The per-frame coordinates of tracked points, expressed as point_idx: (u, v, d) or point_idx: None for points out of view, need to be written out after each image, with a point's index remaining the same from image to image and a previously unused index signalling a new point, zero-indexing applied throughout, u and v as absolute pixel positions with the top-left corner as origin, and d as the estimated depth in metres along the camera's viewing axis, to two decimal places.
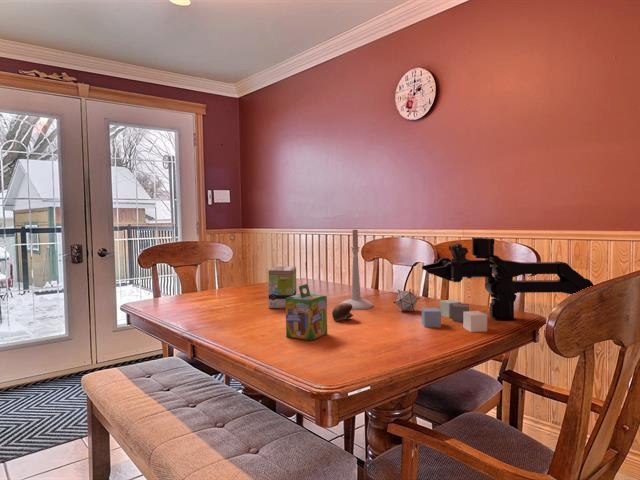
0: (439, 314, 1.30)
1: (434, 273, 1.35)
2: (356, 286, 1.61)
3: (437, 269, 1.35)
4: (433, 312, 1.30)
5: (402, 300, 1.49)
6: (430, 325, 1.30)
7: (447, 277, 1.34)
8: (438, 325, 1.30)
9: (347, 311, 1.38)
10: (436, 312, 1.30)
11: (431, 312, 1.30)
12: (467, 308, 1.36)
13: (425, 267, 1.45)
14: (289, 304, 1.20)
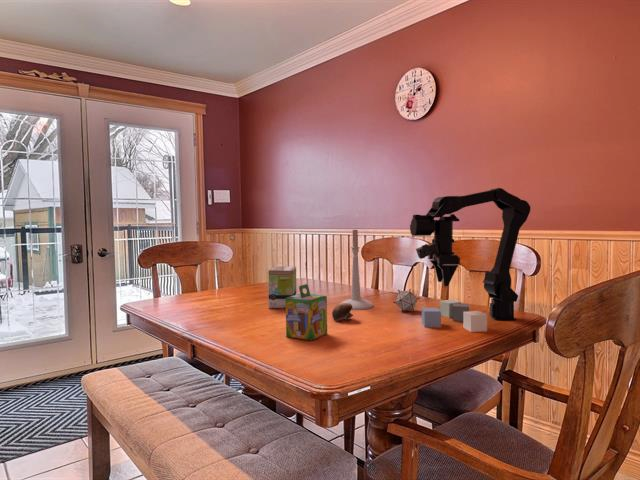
0: (439, 314, 1.30)
1: (449, 279, 1.31)
2: (356, 286, 1.61)
3: (445, 277, 1.31)
4: (433, 312, 1.30)
5: (402, 300, 1.49)
6: (430, 325, 1.30)
7: (454, 267, 1.29)
8: (438, 325, 1.30)
9: (347, 311, 1.38)
10: (436, 312, 1.30)
11: (431, 312, 1.30)
12: (467, 308, 1.36)
13: (439, 278, 1.41)
14: (289, 304, 1.20)
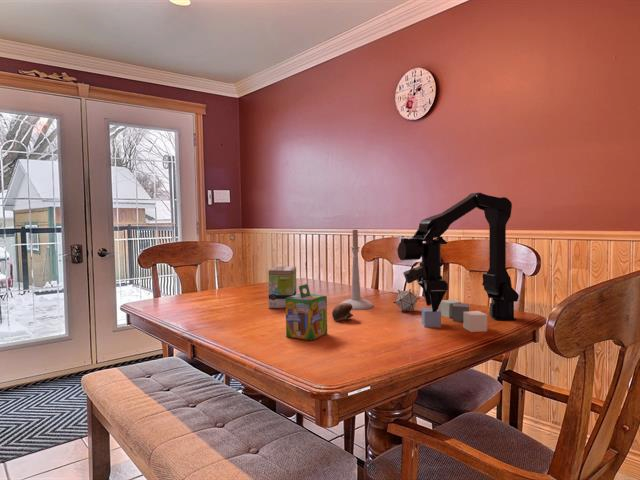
0: (439, 314, 1.30)
1: (437, 305, 1.27)
2: (356, 286, 1.61)
3: (433, 302, 1.27)
4: (433, 312, 1.30)
5: (402, 300, 1.49)
6: (430, 325, 1.30)
7: (442, 293, 1.25)
8: (438, 325, 1.30)
9: (347, 311, 1.38)
10: (436, 312, 1.30)
11: (431, 312, 1.30)
12: (467, 308, 1.36)
13: (428, 302, 1.37)
14: (289, 304, 1.20)
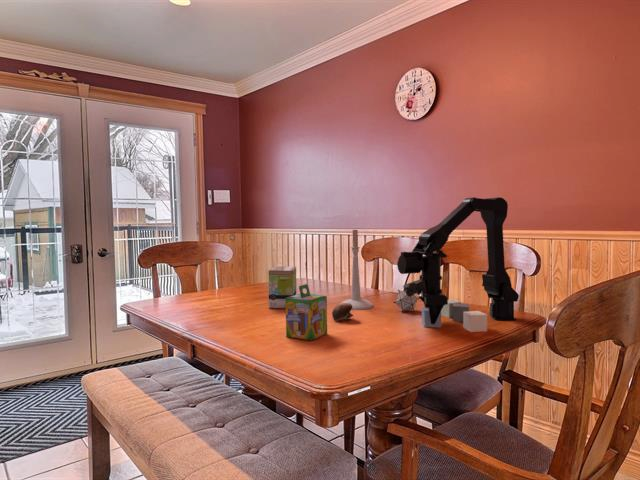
0: (439, 314, 1.30)
1: (435, 317, 1.29)
2: (356, 286, 1.61)
3: (431, 314, 1.29)
4: None
5: (402, 300, 1.49)
6: (430, 325, 1.30)
7: (440, 305, 1.27)
8: (438, 325, 1.30)
9: (347, 311, 1.38)
10: None
11: None
12: (467, 308, 1.36)
13: None
14: (289, 304, 1.20)
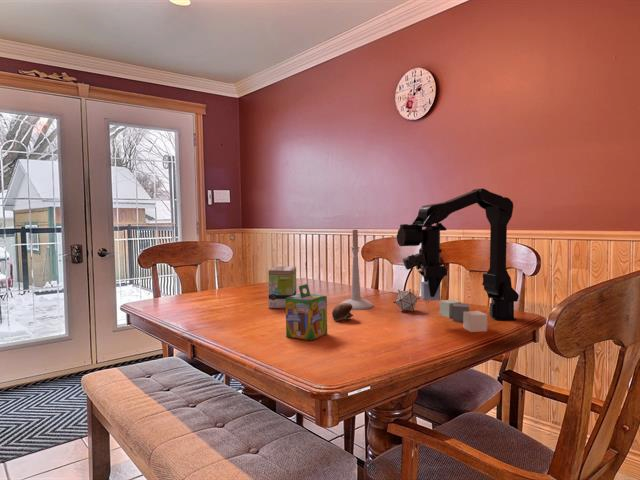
0: (438, 287, 1.29)
1: (435, 290, 1.28)
2: (356, 286, 1.61)
3: (431, 287, 1.28)
4: None
5: (402, 300, 1.49)
6: (429, 298, 1.30)
7: (440, 278, 1.27)
8: (437, 298, 1.29)
9: (347, 311, 1.38)
10: None
11: None
12: (467, 308, 1.36)
13: None
14: (289, 304, 1.20)
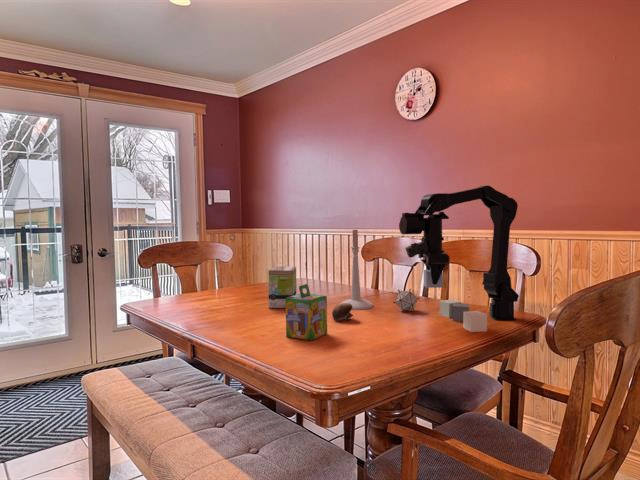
0: (441, 274, 1.31)
1: (437, 277, 1.30)
2: (356, 286, 1.61)
3: (433, 275, 1.30)
4: None
5: (402, 300, 1.49)
6: (432, 285, 1.31)
7: (442, 265, 1.29)
8: (440, 285, 1.31)
9: (347, 311, 1.38)
10: None
11: None
12: (467, 308, 1.36)
13: None
14: (289, 304, 1.20)
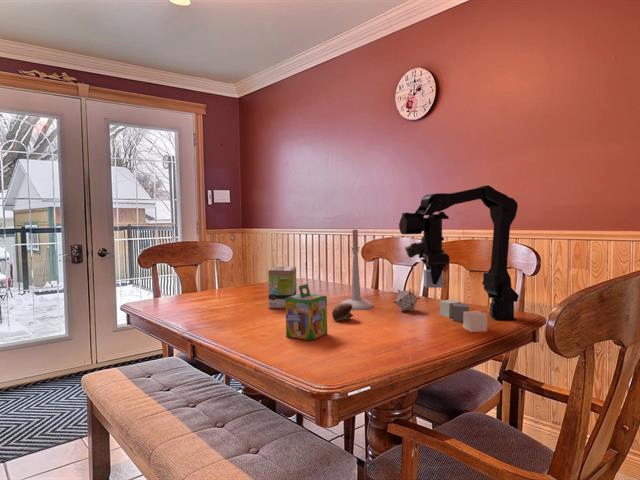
0: (441, 274, 1.31)
1: (437, 277, 1.30)
2: (356, 286, 1.61)
3: (433, 275, 1.30)
4: None
5: (402, 300, 1.49)
6: (432, 285, 1.31)
7: (442, 265, 1.29)
8: (440, 285, 1.31)
9: (347, 311, 1.38)
10: None
11: None
12: (467, 308, 1.36)
13: None
14: (289, 304, 1.20)
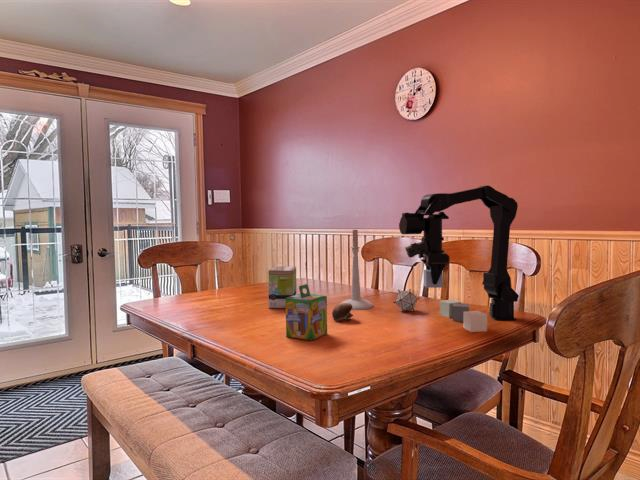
0: (441, 274, 1.31)
1: (437, 277, 1.30)
2: (356, 286, 1.61)
3: (433, 275, 1.30)
4: None
5: (402, 300, 1.49)
6: (432, 285, 1.31)
7: (442, 265, 1.29)
8: (440, 285, 1.31)
9: (347, 311, 1.38)
10: None
11: None
12: (467, 308, 1.36)
13: None
14: (289, 304, 1.20)
